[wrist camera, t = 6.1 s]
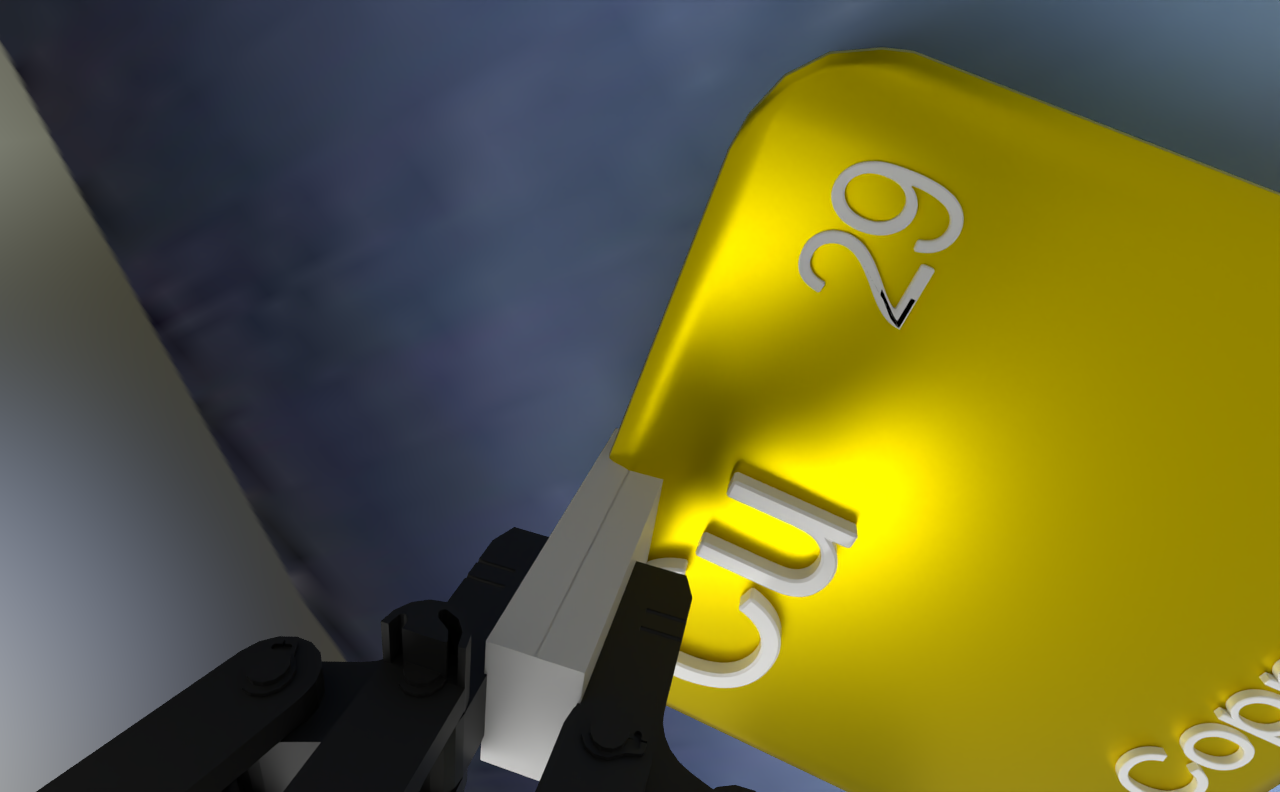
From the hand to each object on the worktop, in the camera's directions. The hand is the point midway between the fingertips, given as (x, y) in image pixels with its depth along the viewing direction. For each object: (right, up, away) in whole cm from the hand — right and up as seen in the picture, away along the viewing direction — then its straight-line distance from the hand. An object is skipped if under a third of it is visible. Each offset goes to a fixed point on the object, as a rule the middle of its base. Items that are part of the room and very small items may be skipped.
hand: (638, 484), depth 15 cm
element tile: (+8, +1, +1) cm, 8 cm away
